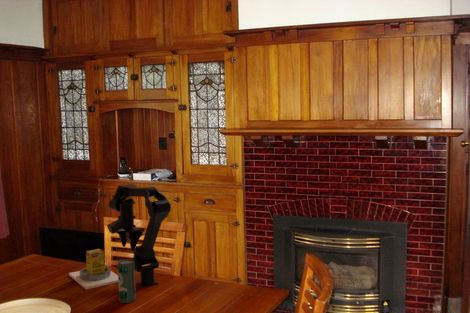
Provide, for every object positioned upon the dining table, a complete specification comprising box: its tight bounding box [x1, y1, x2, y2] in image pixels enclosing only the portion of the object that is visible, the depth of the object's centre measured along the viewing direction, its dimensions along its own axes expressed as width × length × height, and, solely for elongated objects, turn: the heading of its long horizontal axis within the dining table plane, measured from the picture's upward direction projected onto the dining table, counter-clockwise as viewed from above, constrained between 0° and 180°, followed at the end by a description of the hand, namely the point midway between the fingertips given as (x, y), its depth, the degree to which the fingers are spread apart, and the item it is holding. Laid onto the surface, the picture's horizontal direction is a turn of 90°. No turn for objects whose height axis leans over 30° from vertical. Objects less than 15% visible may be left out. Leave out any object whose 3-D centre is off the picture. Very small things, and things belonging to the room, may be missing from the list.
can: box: [117, 259, 137, 304], centre depth 199 cm, size 6×6×15 cm
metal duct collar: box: [79, 265, 112, 281], centre depth 225 cm, size 12×12×2 cm
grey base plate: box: [68, 270, 118, 290], centre depth 225 cm, size 22×16×1 cm
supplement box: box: [85, 248, 106, 274], centre depth 225 cm, size 6×6×11 cm
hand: (128, 248), depth 226 cm, fingers open, 9 cm apart
